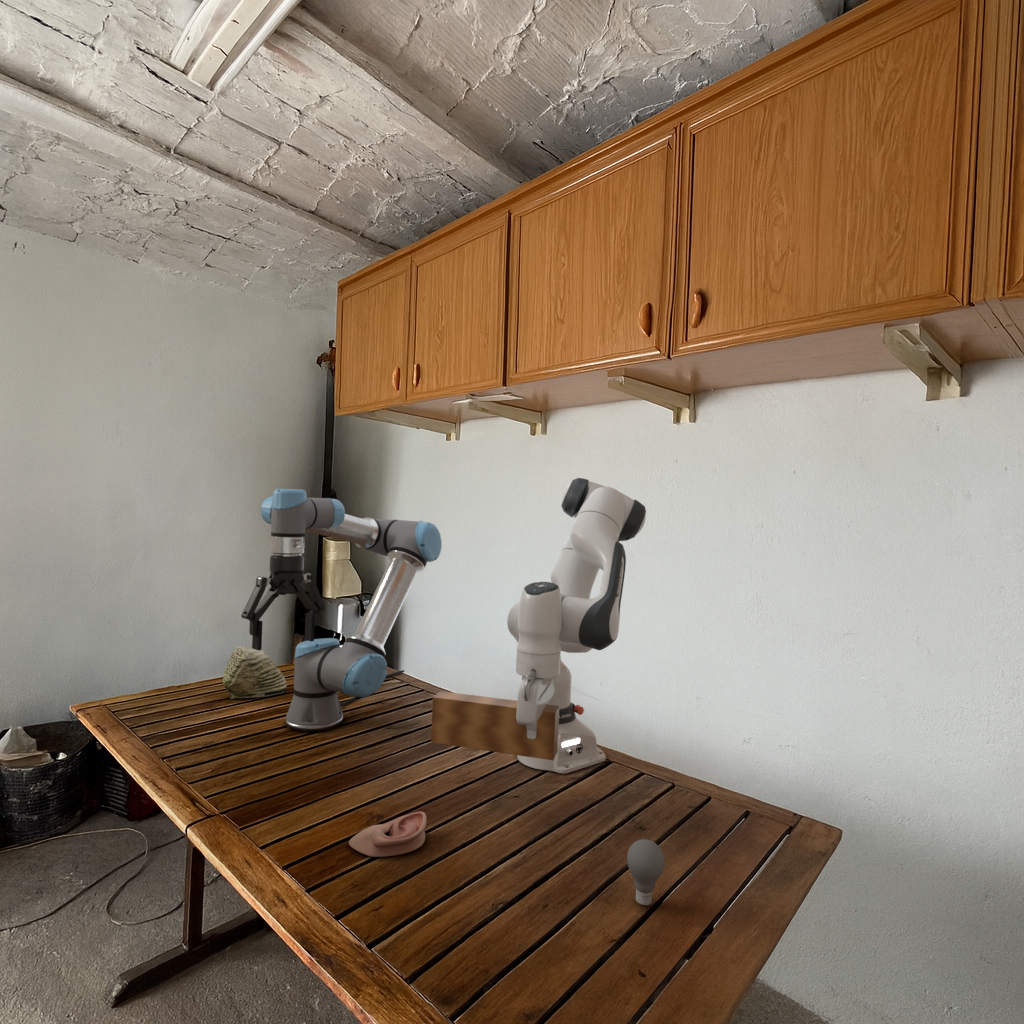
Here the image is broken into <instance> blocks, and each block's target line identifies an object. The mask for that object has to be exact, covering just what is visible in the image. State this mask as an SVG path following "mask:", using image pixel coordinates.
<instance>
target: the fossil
mask: <svg viewBox="0 0 1024 1024" xmlns="http://www.w3.org/2000/svg"><path fill="white" fill-rule="evenodd" d="M222 676H223V677H222V685H223V687H224V688H225V690H226V691H228V693H229V698H230V699H250V698H264V697H271V696H275V695H281V694H284V693H285V691H286V689H287V687H288V686H287V680H286V678H285V676H284V674H283V673H282V672H281V669H279V668H278V667H277V665H276V663H275V662H274V660H273V659H272V658H271V657H270V656H269V655H268V654H267V653H266V652H265V650H264V649H263V648H261V650H256V649H253V648H251V647H247V646H246V647H245V646H238V647H237V648H236V649H235V650H233V651H232V653H231V656H230V657H229V659H228V660H227V663H226V666H225V668H224V671H223V675H222Z"/></svg>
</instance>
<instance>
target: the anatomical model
mask: <svg viewBox="0 0 1024 1024" xmlns="http://www.w3.org/2000/svg"><path fill="white" fill-rule="evenodd" d="M427 821H428V819H427V814H426V813H425V812H424V811H414V812H411V813H408V814H404V815H402V816H399V817H396V818H395V819H391V820H390V821H388V822H385V823H382V824H381V823H380V824H374V825H371V826H369V827H366V828H364V829H362V830H361V831H359V832H358V833H356V834H355V835H354V836H352V837H351V838H350V839H349V841H348V845H349V847H351V848H352V849H353V850H355V851H356V852H358V853H360V854H362V855H365V856H367V857H371V858H372V857H373V858H382V857H391V856H399V855H403V854H407V853H410V852H412V851H413V852H414V851H415V850H417V849H419V848H420V847H422V846H423V845H424V843H425V842H426V832H425V829H426V827H427Z"/></svg>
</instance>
